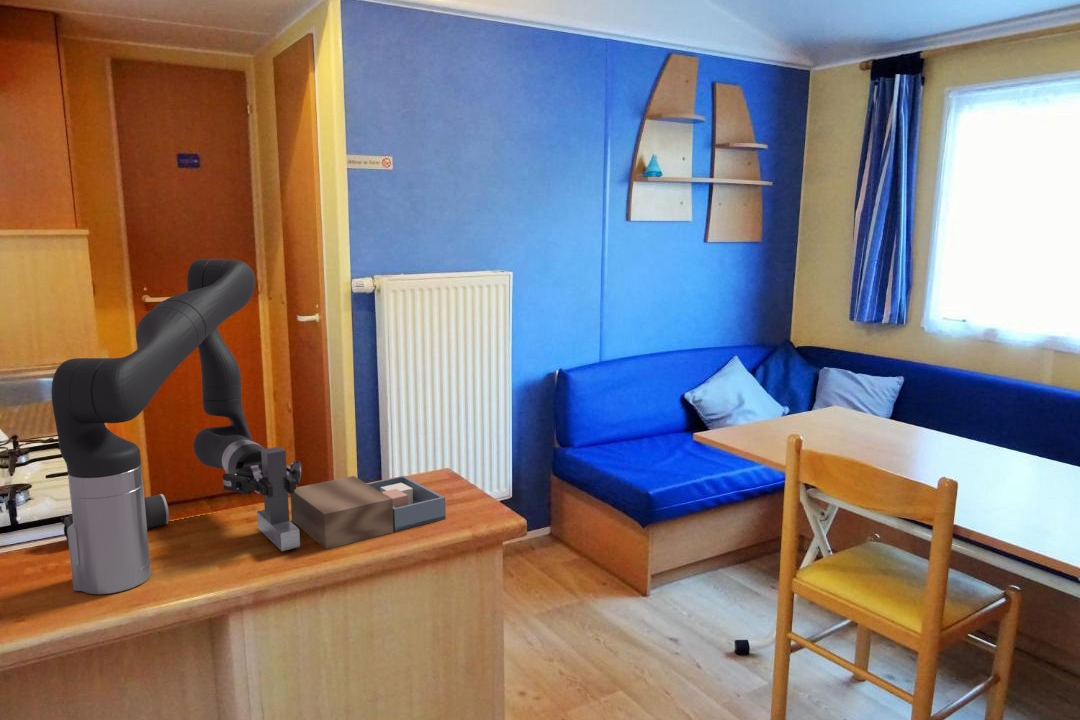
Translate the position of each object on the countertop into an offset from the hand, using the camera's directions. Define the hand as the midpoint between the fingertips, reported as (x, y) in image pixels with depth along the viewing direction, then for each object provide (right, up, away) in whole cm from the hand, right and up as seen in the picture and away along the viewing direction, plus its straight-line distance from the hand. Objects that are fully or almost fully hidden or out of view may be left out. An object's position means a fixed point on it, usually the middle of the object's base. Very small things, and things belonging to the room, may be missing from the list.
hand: (281, 489), depth 122 cm
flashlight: (-30, -9, +8) cm, 33 cm away
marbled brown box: (+7, -8, +10) cm, 15 cm away
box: (+16, -7, +17) cm, 25 cm away
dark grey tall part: (-2, -9, +4) cm, 10 cm away
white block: (+15, -3, +20) cm, 25 cm away
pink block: (+15, -5, +12) cm, 20 cm away
